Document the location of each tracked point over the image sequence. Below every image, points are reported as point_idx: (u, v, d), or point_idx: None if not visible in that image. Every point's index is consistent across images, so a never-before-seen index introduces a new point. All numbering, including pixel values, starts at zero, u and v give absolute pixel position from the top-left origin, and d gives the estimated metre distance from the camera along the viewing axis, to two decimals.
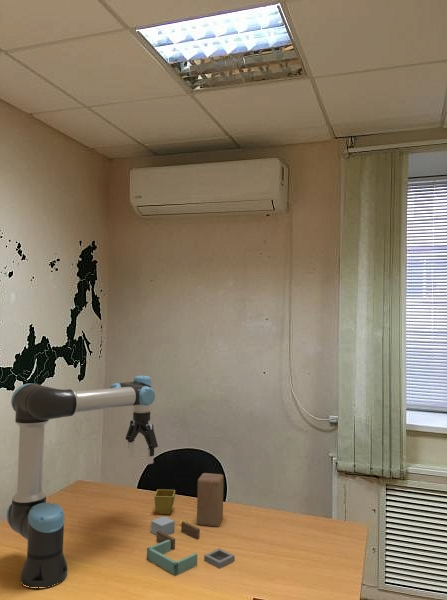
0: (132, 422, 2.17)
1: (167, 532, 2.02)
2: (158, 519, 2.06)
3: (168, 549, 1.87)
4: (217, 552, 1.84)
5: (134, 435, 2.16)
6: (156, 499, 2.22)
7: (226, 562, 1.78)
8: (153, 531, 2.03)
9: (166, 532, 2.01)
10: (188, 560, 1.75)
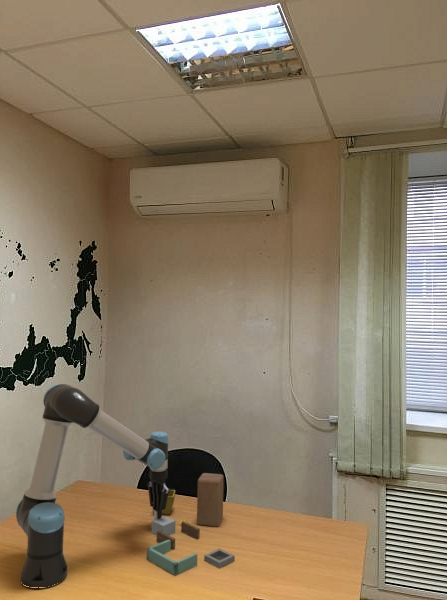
0: (149, 483, 2.11)
1: (168, 531, 2.02)
2: (159, 519, 2.05)
3: (168, 549, 1.87)
4: (217, 552, 1.84)
5: (156, 497, 2.08)
6: None
7: (226, 562, 1.78)
8: (154, 531, 2.03)
9: (167, 532, 2.01)
10: (188, 560, 1.75)
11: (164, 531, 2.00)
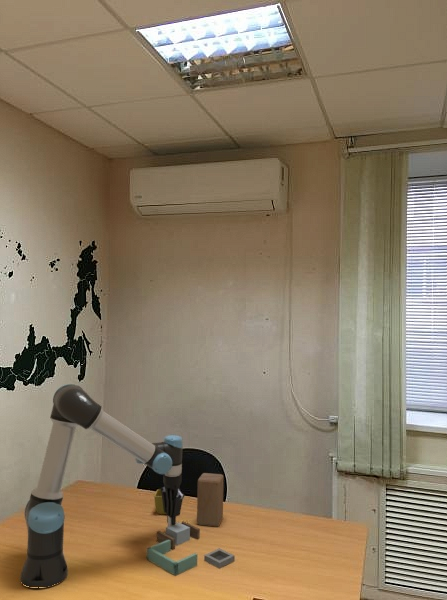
0: (162, 489, 2.04)
1: (182, 539, 1.95)
2: (173, 525, 1.99)
3: (168, 549, 1.87)
4: (217, 552, 1.84)
5: (170, 503, 2.01)
6: (156, 499, 2.22)
7: (226, 562, 1.78)
8: None
9: (181, 539, 1.95)
10: (188, 560, 1.75)
11: (178, 538, 1.93)
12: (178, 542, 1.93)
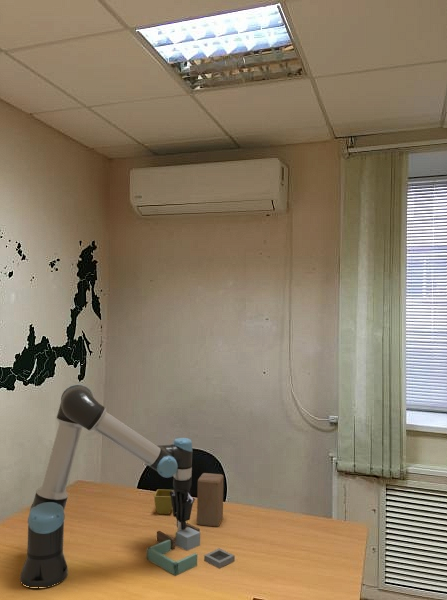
0: (172, 492, 2.00)
1: (193, 544, 1.91)
2: (183, 530, 1.95)
3: (168, 549, 1.87)
4: (217, 552, 1.84)
5: (179, 507, 1.97)
6: (156, 499, 2.22)
7: (226, 562, 1.78)
8: (178, 543, 1.92)
9: (192, 545, 1.90)
10: (188, 560, 1.75)
11: (188, 543, 1.89)
12: (188, 547, 1.89)
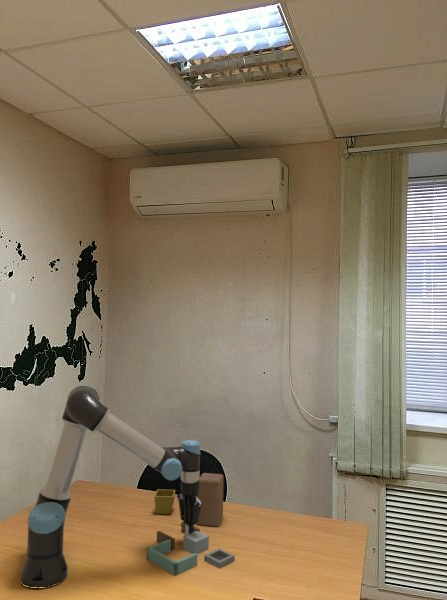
0: (179, 495, 1.97)
1: (201, 548, 1.88)
2: (191, 534, 1.92)
3: (168, 549, 1.87)
4: (217, 552, 1.84)
5: (187, 511, 1.94)
6: (156, 499, 2.22)
7: (226, 562, 1.78)
8: (186, 547, 1.89)
9: (200, 549, 1.87)
10: (188, 560, 1.75)
11: (197, 547, 1.86)
12: (197, 552, 1.86)
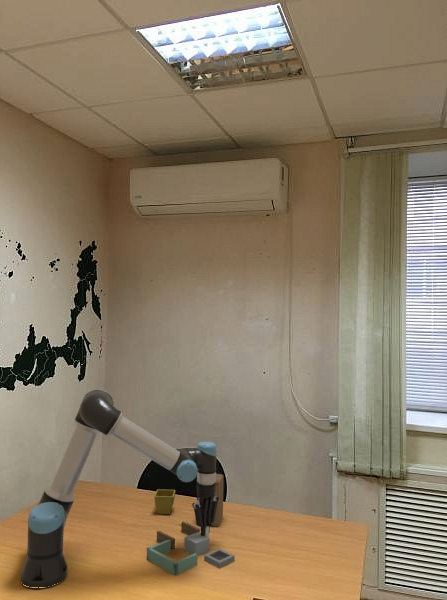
0: (197, 504, 1.88)
1: (202, 550, 1.86)
2: (192, 535, 1.90)
3: (168, 549, 1.87)
4: (217, 552, 1.84)
5: None
6: (156, 499, 2.22)
7: (226, 562, 1.78)
8: (186, 548, 1.88)
9: (200, 550, 1.86)
10: (188, 560, 1.75)
11: (197, 549, 1.84)
12: (197, 553, 1.84)
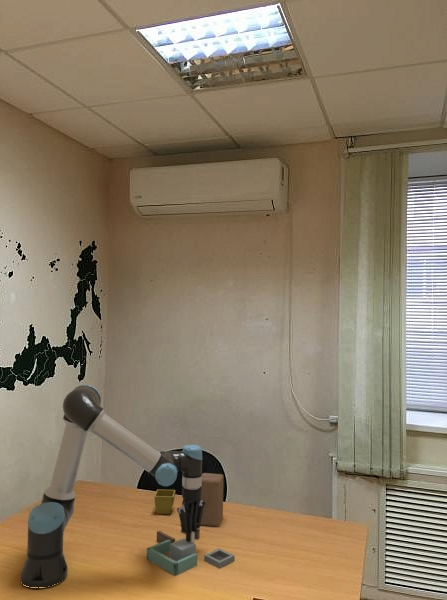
0: (182, 509, 1.83)
1: None
2: (177, 542, 1.85)
3: (168, 549, 1.87)
4: (217, 552, 1.84)
5: None
6: (156, 499, 2.22)
7: (226, 562, 1.78)
8: (172, 556, 1.82)
9: None
10: (188, 560, 1.75)
11: (183, 556, 1.79)
12: None
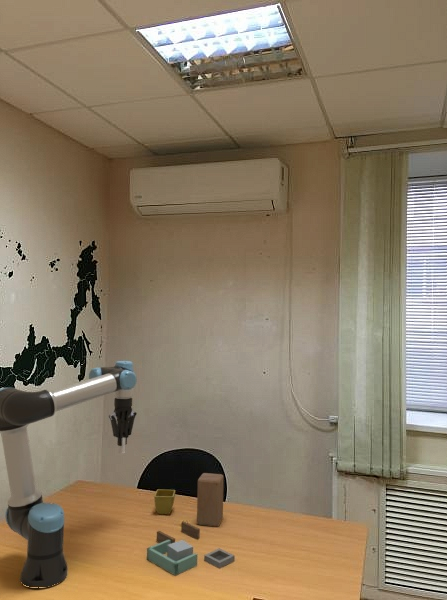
0: (113, 416, 2.03)
1: None
2: (175, 543, 1.84)
3: None
4: (217, 552, 1.84)
5: None
6: (156, 499, 2.22)
7: (226, 562, 1.78)
8: (169, 557, 1.81)
9: None
10: (188, 560, 1.75)
11: (179, 558, 1.78)
12: None
